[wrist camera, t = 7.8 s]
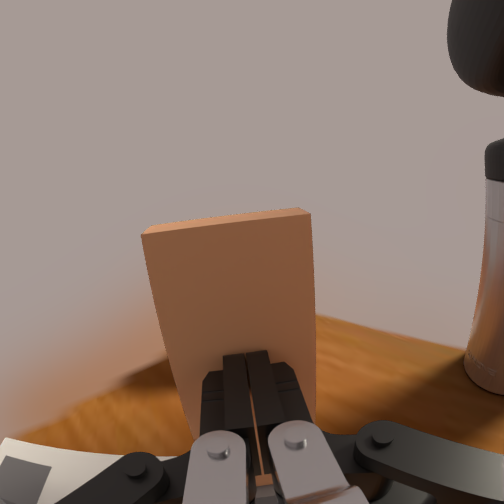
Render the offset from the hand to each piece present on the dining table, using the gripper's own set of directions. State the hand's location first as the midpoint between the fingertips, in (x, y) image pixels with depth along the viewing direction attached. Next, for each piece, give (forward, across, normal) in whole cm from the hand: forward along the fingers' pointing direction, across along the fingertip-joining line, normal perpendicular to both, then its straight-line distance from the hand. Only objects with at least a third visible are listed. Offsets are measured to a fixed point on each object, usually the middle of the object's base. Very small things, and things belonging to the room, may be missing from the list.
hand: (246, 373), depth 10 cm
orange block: (+1, 0, +9) cm, 9 cm away
